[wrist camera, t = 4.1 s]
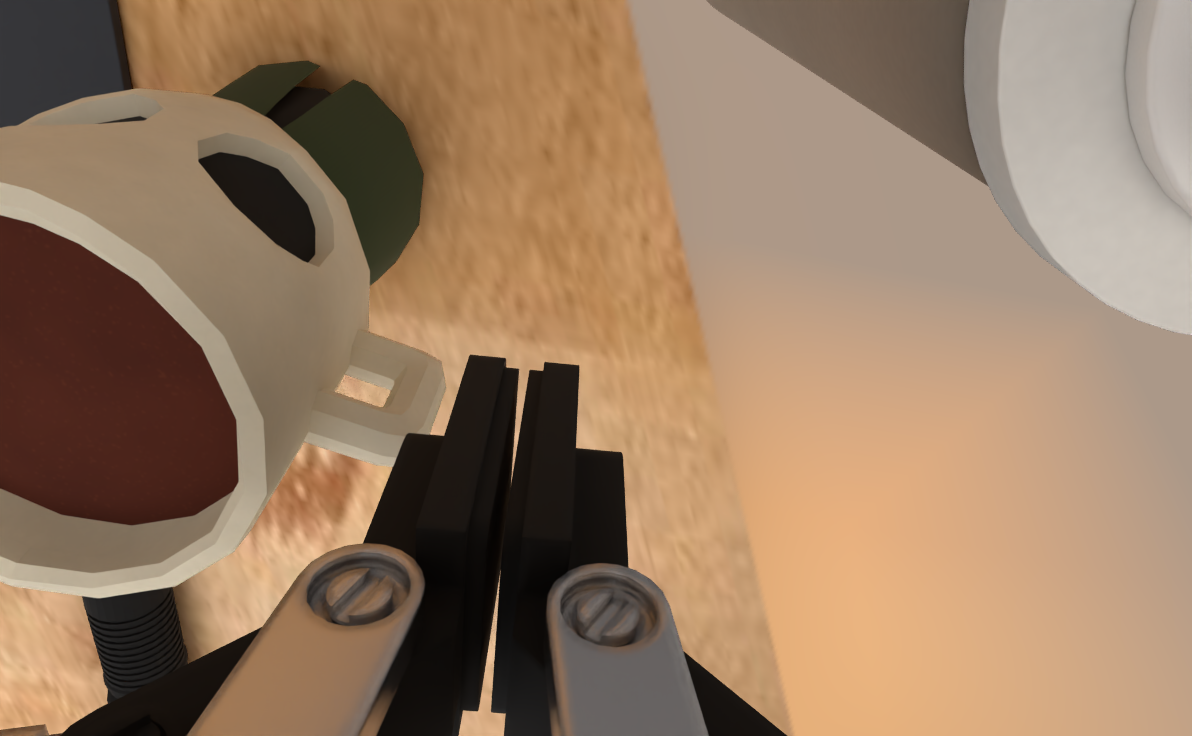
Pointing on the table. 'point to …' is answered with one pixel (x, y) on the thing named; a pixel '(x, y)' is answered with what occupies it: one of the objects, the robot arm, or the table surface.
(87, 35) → the mat
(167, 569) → the character mug
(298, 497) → the table surface
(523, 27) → the table surface
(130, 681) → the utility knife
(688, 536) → the table surface
